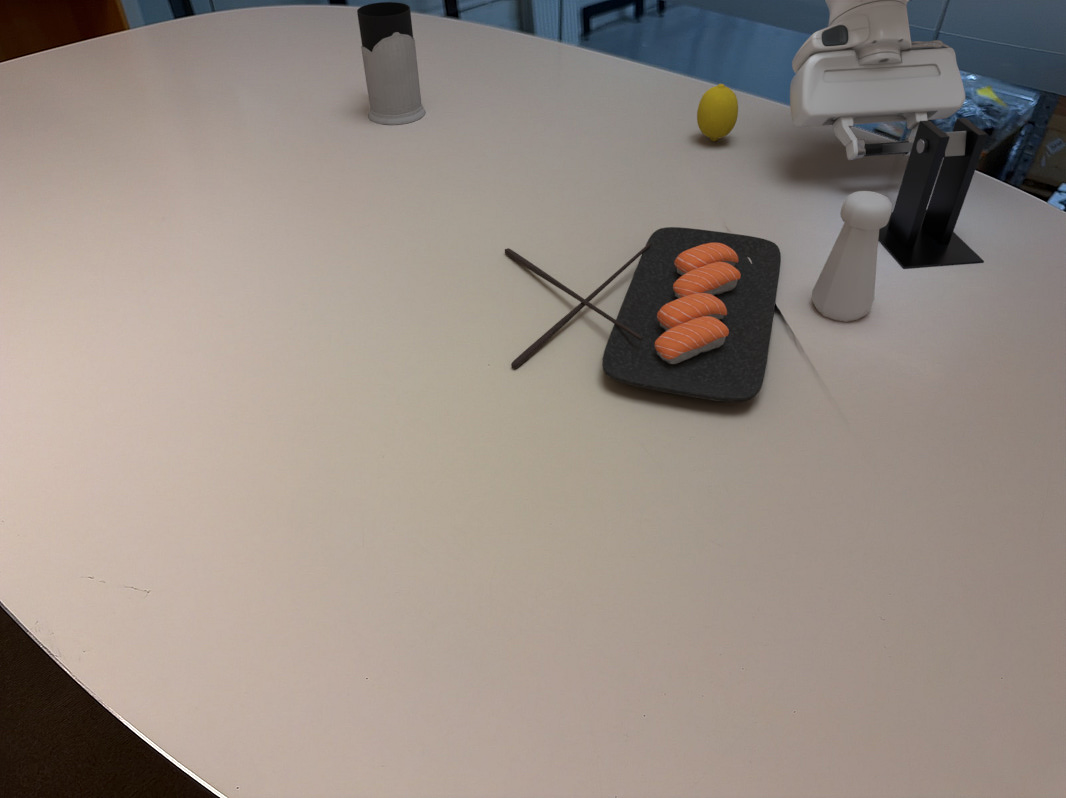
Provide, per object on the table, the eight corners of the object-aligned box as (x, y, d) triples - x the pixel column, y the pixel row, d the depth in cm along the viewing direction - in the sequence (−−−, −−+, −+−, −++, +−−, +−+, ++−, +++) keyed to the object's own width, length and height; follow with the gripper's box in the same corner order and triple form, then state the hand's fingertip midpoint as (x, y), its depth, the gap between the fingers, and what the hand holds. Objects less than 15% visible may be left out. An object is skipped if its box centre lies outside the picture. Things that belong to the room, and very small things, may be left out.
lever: (858, 160, 97) (858, 140, 97) (901, 158, 98) (903, 137, 97) (929, 157, 83) (930, 133, 82) (980, 154, 83) (982, 129, 82)
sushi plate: (757, 422, 70) (764, 387, 67) (433, 363, 77) (429, 330, 74) (780, 254, 91) (787, 224, 88) (525, 221, 98) (524, 191, 95)
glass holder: (381, 129, 120) (365, 21, 110) (347, 99, 130) (330, -2, 120) (434, 117, 123) (424, 11, 114) (398, 89, 133) (386, -11, 123)
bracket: (854, 224, 96) (885, 108, 87) (926, 218, 97) (964, 103, 88) (900, 277, 87) (940, 154, 78) (980, 271, 87) (1029, 148, 79)
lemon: (741, 142, 114) (750, 85, 109) (713, 152, 112) (720, 94, 107) (714, 130, 118) (721, 74, 113) (685, 139, 115) (692, 82, 110)
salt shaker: (802, 300, 84) (829, 182, 75) (858, 300, 84) (892, 182, 75) (815, 333, 79) (846, 212, 71) (874, 333, 79) (912, 212, 71)
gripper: (937, 53, 101) (952, 160, 100) (778, 62, 100) (791, 171, 99) (968, 25, 95) (983, 140, 94) (799, 34, 93) (813, 151, 92)
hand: (884, 156), depth 96 cm, fingers closed on lever, 5 cm apart
